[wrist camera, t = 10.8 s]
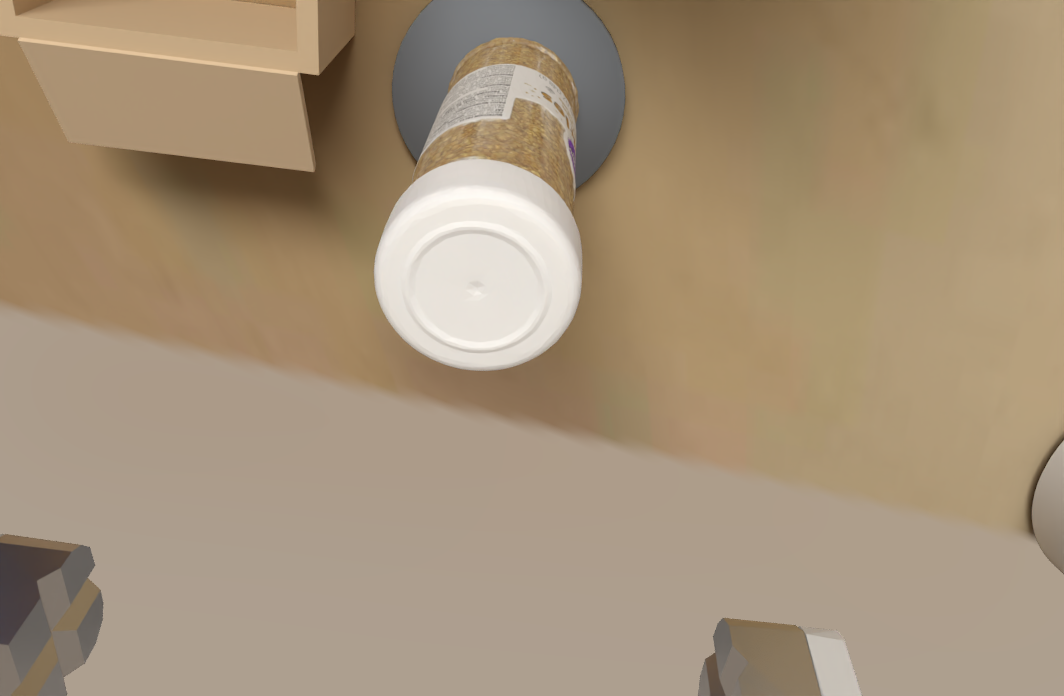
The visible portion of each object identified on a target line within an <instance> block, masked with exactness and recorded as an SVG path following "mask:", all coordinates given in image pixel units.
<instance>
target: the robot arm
mask: <svg viewBox="0 0 1064 696" xmlns="http://www.w3.org/2000/svg"><path fill="white" fill-rule="evenodd" d="M1032 524H1033V529H1034V534H1035V537H1036V540H1037V542H1038V544H1039V546H1040V548H1041V549H1042V551H1043V553H1044V554H1045V555H1046V557H1047V558H1048V559H1049V560H1050V561H1051V562H1052V563H1053V564H1054V565H1055V566H1056V567H1057V568H1058V569H1059V570H1060V571H1061V572H1062V573H1063V574H1064V440H1063V442H1062V443H1061V444H1060V445H1059V447H1058V448H1057V449H1056V451H1055V452H1054V454H1053V455H1052V457H1051V458H1050V460H1049V461H1048V463H1047V465H1046V467H1045V468H1044V470H1043V472H1042V474H1041V477H1040V479H1039V481H1038V484H1037V487H1036V490H1035V494H1034V499H1033V505H1032ZM94 566H95V563H94V560H93V556H92V553H91V549H90V547H87V546H83V545H78V544H71V543H64V542H57V541H50V540H43V539H36V538H29V537H21V536H15V535H8V534H0V696H67V691H66V687H65V682H64V677H65V676H66V675H68V674H69V673H71V672H72V671H74V670H76V669H77V668H79V667H80V666H81V665H83V664H85V662H86V660H87V658H88V657H89V655H90V653H91V651H92V649H93V647H94V645H95V644H96V640H97V637H98V634H99V630H100V627H101V623H102V620H103V618H102V617H103V600H102V595H101V590H100V589H99V588H98V587H97V586H96V585H95V584H94V583H92V581H90V580H89V579H88V576H89V575H90V573H91V571H92V570H93V568H94ZM713 639H714V646H715V652H716V653H714V654H713V655H711V656H709V657H708V658H706V659H705V662H704V665H703V669H702V672H701V675H700V683H699V692H698V696H862V693H861V690H860V687H859V684H858V680H857V677H856V674H855V671H854V668H853V665H852V662H851V658H850V656H849V652H848V649H847V647H846V643H845V640H844V637H843V636H842V635H841V634H840V633H839V631H837V630H827V629H819V628H810V627H801V626H799V627H797V626H796V625H787V624H777V623H767V622H758V621H748V620H739V619H729V618H722V619H721V621H720V622H719V623H718V625H717V627H716V630H715V633H714V636H713Z"/></svg>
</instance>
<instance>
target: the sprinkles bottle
mask: <svg viewBox="0 0 1064 696" xmlns="http://www.w3.org/2000/svg"><path fill="white" fill-rule="evenodd" d="M578 112H579V104H578V91H577V88H576V85H575V82H574V80H573V78H572V75H571V73H570V71H569V70H568V68H567V67H566V65H565V64H564V63H563V62H562V61H561V59H560V58H559V57H558V56H557V55H556V54H555V53H554V52H553V51H551V50H550V49H548V48H546V47H545V46H543V45H542V44H540V43H537V42H535V41H530V40H527V39H524V38H513V37H508V38H495V39H493V40H491V41H489V42H486V43H483V44H481V45H479V46H477V47H476V48H474V49H473V50H472V51H470V52H469V53H467V55H466V56H465V57H464V58H463V59H462V60H461V61H460V63H459V64H458V65H457V67H456V69H455V71H454V74H453V76H452V79H451V81H450V83H449V87H448V94H447V96H446V97H445V99H444V101H443V103H442V105H441V107H440V109H439V112H438V114H437V117H436V119H435V122H434V124H433V126H432V129H431V131H430V133H429V136H428V138H427V141H426V143H425V145H424V148H423V150H422V153H421V155H420V158H419V160H418V162H417V165H416V168H415V171H414V174H413V179H412V183H411V185H410V187H409V188H408V189H407V190H406V191H405V192H404V193H403V195H402V196H401V197H400V198H399V200H398V201H397V203H396V204H395V206H394V208H393V210H392V212H391V215H390V217H389V219H388V221H387V224H386V226H385V229H384V231H383V234H382V237H381V240H380V243H379V246H378V249H377V253H376V257H375V266H374V280H375V289H376V293H377V297H378V300H379V303H380V306H381V308H382V310H383V312H384V314H385V316H386V318H387V320H388V321H389V322H390V324H391V325H392V327H393V328H394V330H395V331H396V332H397V333H398V334H399V335H400V336H401V338H403V339H404V340H405V341H406V342H407V343H408V344H409V345H410V346H412V347H413V348H414V349H415V350H417V351H418V352H420V353H422V354H423V355H425V356H427V357H429V358H431V359H433V360H435V361H437V362H440V363H442V364H444V365H448V366H451V367H455V368H458V369H465V370H475V371H492V370H501V369H506V368H511V367H514V366H517V365H520V364H523V363H525V362H527V361H530V360H532V359H533V358H535V357H537V356H539V355H540V354H542V353H543V352H545V351H546V350H548V349H549V348H550V347H551V346H552V345H553V344H555V343H556V342H557V341H558V340H559V339H560V337H561V336H562V335H563V333H564V332H565V330H566V329H567V328H568V326H569V324H570V323H571V321H572V319H573V317H574V315H575V313H576V310H577V307H578V303H579V300H580V294H581V284H582V246H581V240H580V234H579V230H578V228H577V225H576V222H575V220H574V218H573V208H574V199H575V187H576V184H575V166H576V121H577V117H578Z"/></svg>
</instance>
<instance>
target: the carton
mask: <svg viewBox="0 0 1064 696" xmlns="http://www.w3.org/2000/svg"><path fill="white" fill-rule="evenodd" d="M0 35H2V36H10V37H18V38H19V40H18V42H19V44H20V46H21V48H22V50H23V52H24V54H25V56H26V58H27V60H28V62H29V64H30V66H31V68H32V70H33V72H34V74H35V76H36V78H37V80H38V82H39V84H40V86H41V88H42V90H43V92H44V94H45V96H46V98H47V100H48V102H49V104H50V106H51V108H52V110H53V112H54V114H55V116H56V118H57V120H58V122H59V124H60V126H61V128H62V130H63V132H64V134H65V136H66V138H67V140H68V142H72V143H80V144H88V145H96V146H105V147H113V148H121V149H129V150H137V151H145V152H154V153H162V154H170V155H178V156H186V157H195V158H203V159H211V160H219V161H227V162H235V163H244V164H252V165H260V166H268V167H276V168H284V169H293V170H301V171H309V172H315V168H316V161H315V155H314V149H313V144H312V138H311V132H310V126H309V121H308V115H307V109H306V104H305V98H304V92H303V86H302V81H301V75H300V73H305V74H313V75H320V73H321V72H322V71H323V70H324V69H325V68H326V67H327V66H328V64H329V63H330V62H331V61H332V60H333V59H334V58H335V56H336V55H337V54H338V53H339V52H340V51H341V50H342V49H343V47H344V46H345V45H346V44H347V43H348V42H349V41H350V39H351V38H352V37H353V36H354V35H355V0H296V8H289V7H281V6H273V5H266V4H258V3H250V2H242V1H234V0H0Z"/></svg>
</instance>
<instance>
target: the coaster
mask: <svg viewBox="0 0 1064 696" xmlns="http://www.w3.org/2000/svg"><path fill="white" fill-rule="evenodd" d="M508 37H513V38H524V39H527V40H530V41H535V42H537V43H540V44H542V45H543V46H545V47H546V48H548V49H550V50H551V51H553V52H554V53H555V54H556V55H557V56H558V57H559V58H560V59H561V61H562V62H563V63H564V64H565V65H566V67H567V68H568V70H569V71H570V73H571V75H572V78H573V80H574V82H575V85H576V88H577V91H578V104H579V112H578V117H577V121H576V166H575V184H576V187H575V189H576V188H578V187H579V186H580V185H582V184H583V183H584V182H585V181H586V180H588V179H589V178H590V177H591V176H592V175H593V174H594V173H595V172H596V171H597V170H598V168H599V167H600V166H601V165H602V163H603V162H604V160H605V159H606V158H607V156H608V155H609V153H610V151H611V149H612V147H613V145H614V144H615V141H616V138H617V136H618V133H619V131H620V127H621V123H622V119H623V115H624V106H625V83H624V76H623V70H622V64H621V61H620V58H619V54H618V51H617V48H616V46H615V44H614V41H613V39H612V37H611V35H610V33H609V32H608V30H607V28H606V27H605V25H604V24H603V22H602V21H601V19H600V18H599V17H598V16H597V15H596V13H595V12H594V11H593V10H592V9H591V8H590V7H589V6H588V5H587V4H586V3H585V2H584V1H583V0H432V1H431V2H430V3H429V4H428V5H427V6H426V7H425V8H424V9H423V10H422V11H421V13H420V14H419V15H418V17H417V18H416V19H415V21H414V22H413V24H412V25H411V26H410V28H409V30H408V32H407V34H406V35H405V37H404V39H403V41H402V43H401V46H400V49H399V51H398V54H397V57H396V62H395V66H394V70H393V81H392V97H393V106H394V112H395V117H396V120H397V124H398V127H399V130H400V132H401V135H402V137H403V139H404V141H405V144H406V145H407V147H408V149H409V150H410V152H411V154H412V155H413V157H414V158H415V159H416V161H417V162H418V160H419V158H420V155H421V153H422V150H423V148H424V145H425V143H426V141H427V138H428V136H429V133H430V131H431V129H432V126H433V124H434V122H435V119H436V117H437V114H438V112H439V109H440V107H441V105H442V103H443V101H444V99H445V97H446V96H447V94H448V87H449V83H450V81H451V79H452V76H453V74H454V71H455V69H456V67H457V65H458V64H459V63H460V61H461V60H462V59H463V58H464V57H465V56H466V55H467V53H469V52H470V51H472V50H473V49H474V48H476V47H477V46H479V45H481V44H483V43H486V42H489V41H491V40H493V39H495V38H508Z"/></svg>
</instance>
